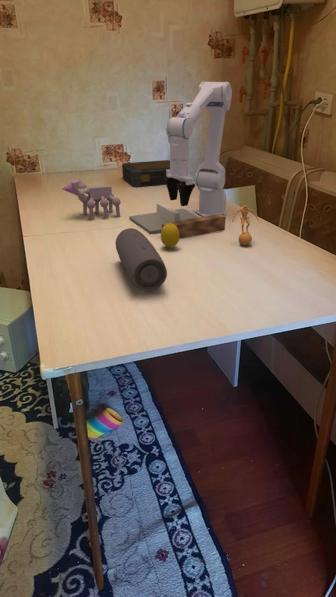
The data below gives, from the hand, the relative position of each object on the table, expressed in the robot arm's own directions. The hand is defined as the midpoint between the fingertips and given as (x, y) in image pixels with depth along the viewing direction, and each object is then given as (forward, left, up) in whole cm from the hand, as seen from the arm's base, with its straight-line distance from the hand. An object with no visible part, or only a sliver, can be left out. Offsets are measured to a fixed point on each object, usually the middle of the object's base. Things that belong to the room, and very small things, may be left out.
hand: (178, 202), depth 141 cm
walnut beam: (-3, +5, -10) cm, 11 cm away
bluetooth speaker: (+26, +27, -10) cm, 38 cm away
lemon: (+10, +13, -10) cm, 19 cm away
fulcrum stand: (-1, -10, -10) cm, 14 cm away
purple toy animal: (+21, -28, -10) cm, 36 cm away
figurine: (-12, +20, -10) cm, 25 cm away
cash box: (-23, -70, -10) cm, 74 cm away
